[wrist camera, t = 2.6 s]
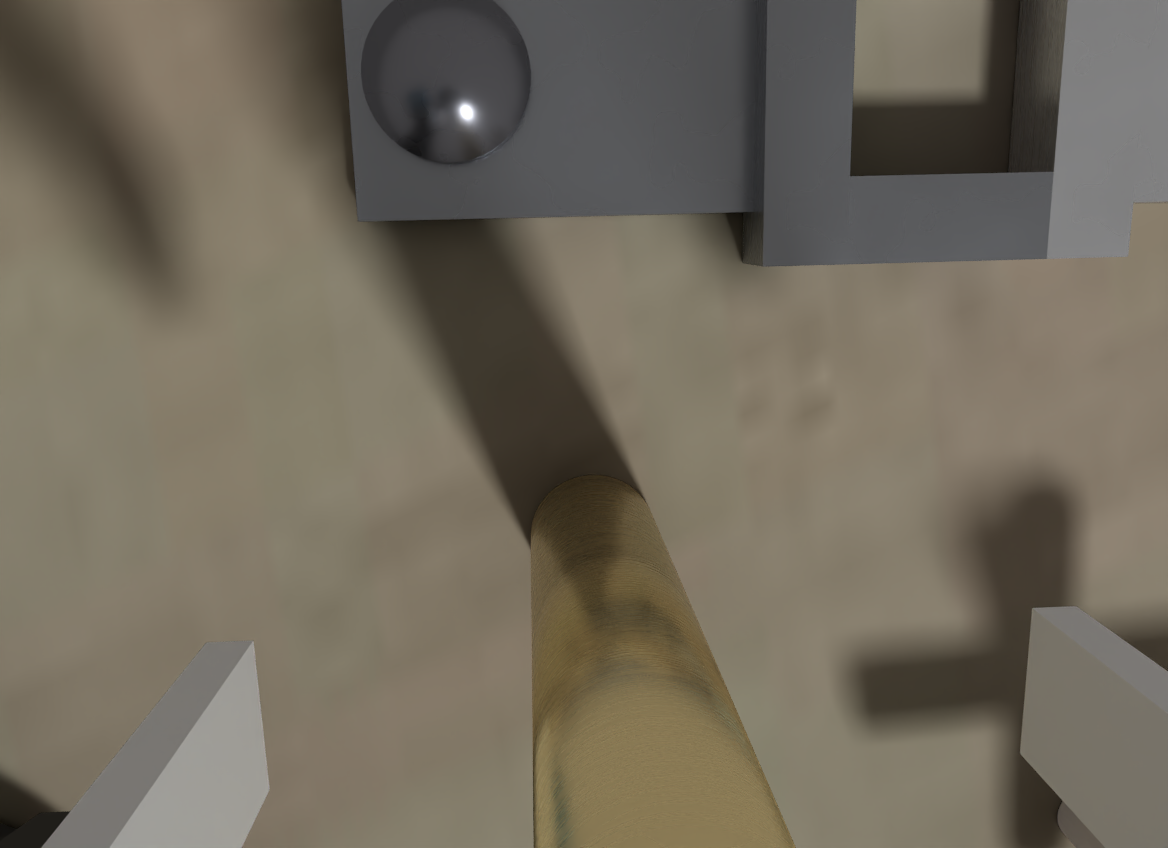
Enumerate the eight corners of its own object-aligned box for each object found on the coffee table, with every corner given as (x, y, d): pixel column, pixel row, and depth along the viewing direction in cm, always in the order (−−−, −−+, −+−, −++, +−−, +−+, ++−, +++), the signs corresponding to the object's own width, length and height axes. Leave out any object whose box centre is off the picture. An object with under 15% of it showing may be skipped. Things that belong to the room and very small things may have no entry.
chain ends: (369, 273, 22) (348, 279, 19) (341, -115, 20) (313, -165, 18) (1420, 244, 23) (1529, 246, 21) (1480, -121, 22) (1608, -168, 19)
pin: (533, 595, 24) (539, 1089, 10) (528, 477, 23) (529, 836, 10) (655, 590, 24) (823, 1068, 10) (654, 472, 23) (832, 818, 10)
